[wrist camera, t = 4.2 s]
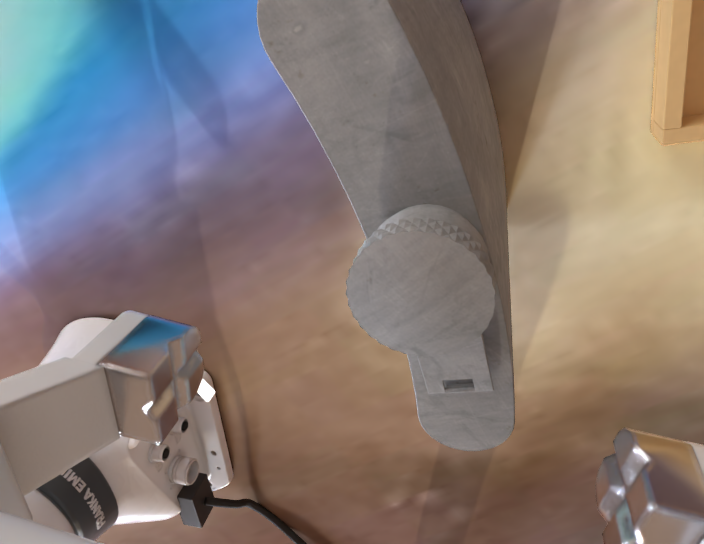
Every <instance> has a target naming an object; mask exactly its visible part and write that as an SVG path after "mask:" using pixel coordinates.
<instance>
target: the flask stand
mask: <svg viewBox="0 0 704 544" xmlns="http://www.w3.org/2000/svg"><path fill="white" fill-rule="evenodd" d="M650 132H651V133H652V135H653V136H654V137H655V138H656V139H657V140H658V142H659V143H660V144H661V145H662V146H665V145H673V144H681V143H689V142H697V141H704V0H658V13H657V29H656V46H655V62H654V79H653V95H652V112H651V128H650Z"/></svg>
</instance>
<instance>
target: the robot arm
mask: <svg viewBox="0 0 704 544" xmlns="http://www.w3.org/2000/svg"><path fill="white" fill-rule="evenodd" d="M201 343H202V342H201V335H200V330H199V329H198V328H196V327H195V326H191V325H187V324H184V323H180V322H176V321H172V320H168V319H165V318H161V317H157V316H153V315H147V314H143V313H140V312H136V311H132V310H129V311H125V312H123V313H121V314H120V315H119V316H118V317H117V318H116V319H115V320H111V319H106V318H97V317H90V318H82V319H78V320H75V321H73V322H71V323H69V324H68V325H67V326H65V327H64V328H63V330H62V331H61V332H60V334H59V336H58V338H57V340H56V341H55V343H54V345H53V346H52V348H51V349H50V351H49V352H48V354H47V355H46V356H45V358H44V359H43V360H42V362H41V363H40V364H39V366H38V367H36V368H33V369H30V370H27V371H24V372H22V373H19V374H16V375H13V376H10V377H8V378H5V379H2V380H0V544H103V543H99V542H96V541H94V540H96V539H97V538H98V537H99V536H100V535H102V534H103V533H104V532H105V531H107V530H108V529H109V528H110V527H112V526H113V525H118V524H129V523H139V522H149V521H159V520H165V519H168V518H171V517H174V516H176V515H177V514H179V513H180V516H181V518H182V521H183V524H184V525H189V526H194V527H199V528H202V527H203V525H204V523H205V521H206V519H207V517H208V515H209V513H210V512H211V510H212V508H213V506H215V507H224V508H242V507H248V508H251V509H253V510H254V511H256V512H258V513H260V514H261V515H262V516H264V517H265V518H267V519H268V520H269V521H271V522H272V523H273V524H274V525H275V526H277V527H278V528H279V529H280V530H281V531H282V532H283V533H284V534H286V535H287V536H288V537H289V538H290V539H291V540H292V541H293V542H294V543H295V544H307V543H306V542H304V541H303V540H302V539H301V538H300V537H299V536H298V535H297V534H296V533H295V532H294V531H292V530H291V529H290V528H289V527H288V526H287V525H286V524H285V523H283V522H282V521H281V520H280V519H279V518H277V517H276V516H275V515H274V514H272V513H271V512H270V511H268V510H267V509H266V508H264V507H263V506H262V505H260V504H258V503H256V502H255V501H253V500H250V499H241V500H229V499H220V498H214V496H213V492H212V491H215V490H218V489H221V488H223V487H225V486H227V485H228V484H229V483H230V482H231V480H232V479H233V470H232V465H231V461H230V456H229V452H228V448H227V443H226V439H225V434H224V430H223V426H222V421H221V417H220V412H219V408H218V404H217V399H216V395H215V390H214V386H213V382H212V378H211V377H210V375H209V374H208V373H207V372H206V371H204V364H203V358H202V357H201V356H200V354H199V353H198V352H197V351H196V349H197V348H198V347H199V345H200V344H201ZM613 443H614V448H615V452H616V453H614V454H612V455H610V456H608V457H605V458H604V460H603V462H602V464H601V466H600V468H599V470H598V474H597V480H596V485H595V486H596V502H597V509H598V511H599V513H600V514H601V515H602V516H603V517H604V519H605V520H606V521H607V522H608V525H607V526H606V528H605V530H604V531H603V533H602V536H603V542H604V544H704V445H701V444H696V443H692V442H687V441H685V442H684V441H682V440H677V439H673V438H668V437H664V436H660V435H655V434H651V433H646V432H642V431H638V430H633V429H629V428H623V429H622V430H620V431H619V432H618V434H617V436H616V437H615V439H614V441H613Z"/></svg>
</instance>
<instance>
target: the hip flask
mask: <svg viewBox="0 0 704 544" xmlns="http://www.w3.org/2000/svg"><path fill="white" fill-rule="evenodd" d="M257 24H258V30H259V35H260V39H261V41H262V44H263V47H264V50H265V52H266V53H267V55H268V57H269V59H270V61H271V62H272V64H273V66H274V67H275V69H276V70H277V72H278V73H279V75H280V76H281V78H282V80H283V81H284V83H285V84H286V86H287V87H288V89H289V90H290V92H291V94H292V95H293V97H294V98H295V100H296V102H297V103H298V105H299V107H300V108H301V110H302V112H303V114H304V115H305V117H306V119H307V120H308V122H309V124H310V125H311V127H312V129H313V130H314V132H315V134H316V136H317V138H318V140H319V141H320V143H321V145H322V147H323V149H324V151H325V153H326V154H327V156H328V158H329V160H330V162H331V164H332V166H333V168H334V170H335V172H336V174H337V176H338V178H339V180H340V182H341V184H342V186H343V188H344V190H345V192H346V194H347V196H348V198H349V200H350V202H351V204H352V207H353V209H354V211H355V213H356V216H357V218H358V220H359V222H360V225H361V227H362V229H363V231H364V234H365V236H366V240H365V241H364V244H363V246H362V247H361V248H360V249H359V250H358V254H357V256H356V257H355V258H354V260H353V265H352V267H351V268H350V269H349V277H348V278H347V280H346V285H347V290H346V295H347V297H348V305H349V307H350V309H351V310H352V314H353V317H354V318H355V319H356V320H357V321H358V323H359V325H360V327H361V328H363V329H364V330H365V331H366V332H367V333H368V335H369V336H370V337H372V338H374V339H376V340H377V341H378V342H379V343H380V344H382V345H385V346H387V347H389V348H390V349H392V350H396V351H400V352H402V353H404V354H407V357H408V361H409V365H410V369H411V374H412V380H413V385H414V390H415V396H416V404H417V412H418V417H419V421H420V423H421V425H422V427H423V428H424V430H425V431H426V432H427V433H428V434H429V435H430V436H431V437H432V438H433V439H435V440H436V441H438V442H440V443H441V444H444V445H446V446H448V447H451V448H454V449H458V450H464V451H481V450H486V449H490V448H493V447H496V446H498V445H500V444H501V443H503V442H504V441H505V440H507V438H508V437H509V436H510V435H511V433H512V431H513V429H514V424H515V398H514V373H513V349H512V325H511V301H510V277H509V252H508V228H507V204H506V183H505V169H504V160H503V152H502V145H501V138H500V132H499V127H498V122H497V117H496V112H495V108H494V104H493V99H492V95H491V91H490V87H489V83H488V80H487V76H486V72H485V69H484V65H483V62H482V59H481V55H480V52H479V49H478V46H477V43H476V40H475V38H474V35H473V32H472V29H471V26H470V24H469V21H468V19H467V16H466V13H465V11H464V8H463V6H462V4H461V2H460V0H258V3H257Z"/></svg>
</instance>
